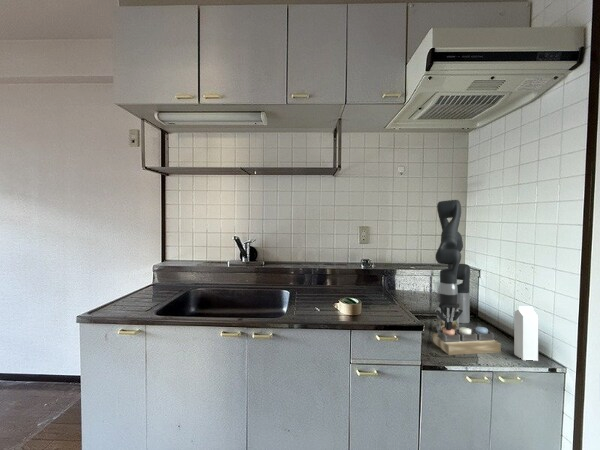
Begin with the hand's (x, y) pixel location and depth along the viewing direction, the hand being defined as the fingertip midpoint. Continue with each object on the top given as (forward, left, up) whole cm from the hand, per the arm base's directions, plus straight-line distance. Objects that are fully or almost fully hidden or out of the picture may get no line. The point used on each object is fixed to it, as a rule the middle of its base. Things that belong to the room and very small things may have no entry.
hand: (448, 329), depth 139 cm
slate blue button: (0, +16, -3) cm, 16 cm away
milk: (+12, +27, -9) cm, 31 cm away
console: (0, +8, -9) cm, 12 cm away
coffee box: (-18, +10, -9) cm, 22 cm away
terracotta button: (0, 0, -3) cm, 3 cm away
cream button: (0, +8, -3) cm, 9 cm away
